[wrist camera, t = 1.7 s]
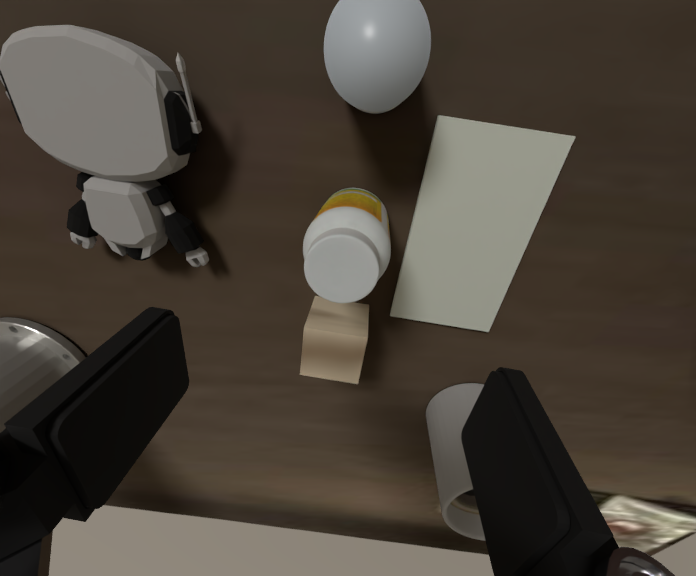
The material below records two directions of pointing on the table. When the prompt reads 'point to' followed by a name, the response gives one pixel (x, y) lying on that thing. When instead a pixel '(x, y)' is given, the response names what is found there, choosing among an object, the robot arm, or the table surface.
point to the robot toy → (108, 132)
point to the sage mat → (474, 219)
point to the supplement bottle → (347, 246)
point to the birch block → (335, 340)
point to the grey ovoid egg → (377, 51)
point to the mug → (454, 457)
